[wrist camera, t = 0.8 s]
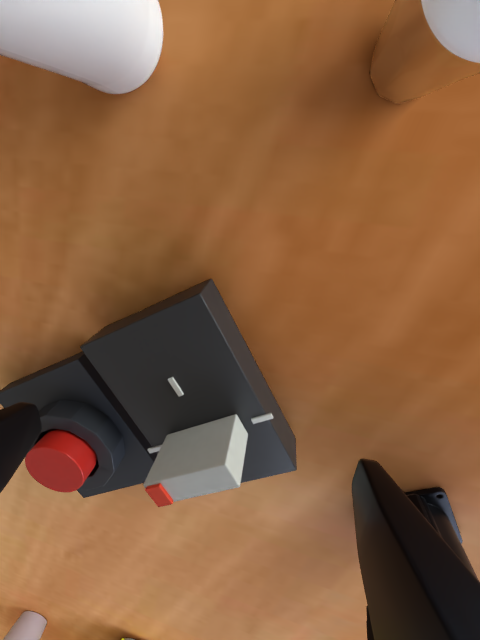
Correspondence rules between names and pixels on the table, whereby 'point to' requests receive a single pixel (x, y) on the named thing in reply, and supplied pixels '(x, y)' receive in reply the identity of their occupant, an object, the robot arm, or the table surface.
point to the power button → (61, 461)
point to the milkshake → (426, 48)
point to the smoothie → (27, 627)
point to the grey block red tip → (198, 461)
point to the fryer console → (192, 376)
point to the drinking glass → (85, 39)
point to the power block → (87, 421)
